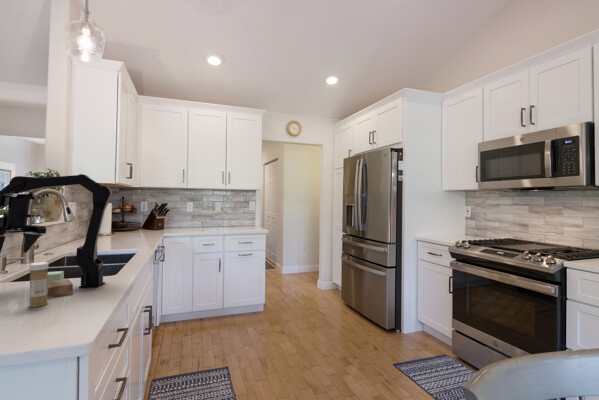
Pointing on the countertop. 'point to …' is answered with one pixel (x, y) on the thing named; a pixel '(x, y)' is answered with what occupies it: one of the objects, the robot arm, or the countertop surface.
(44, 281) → the sprinkles bottle
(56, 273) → the sage green cube
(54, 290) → the walnut block
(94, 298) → the countertop surface
